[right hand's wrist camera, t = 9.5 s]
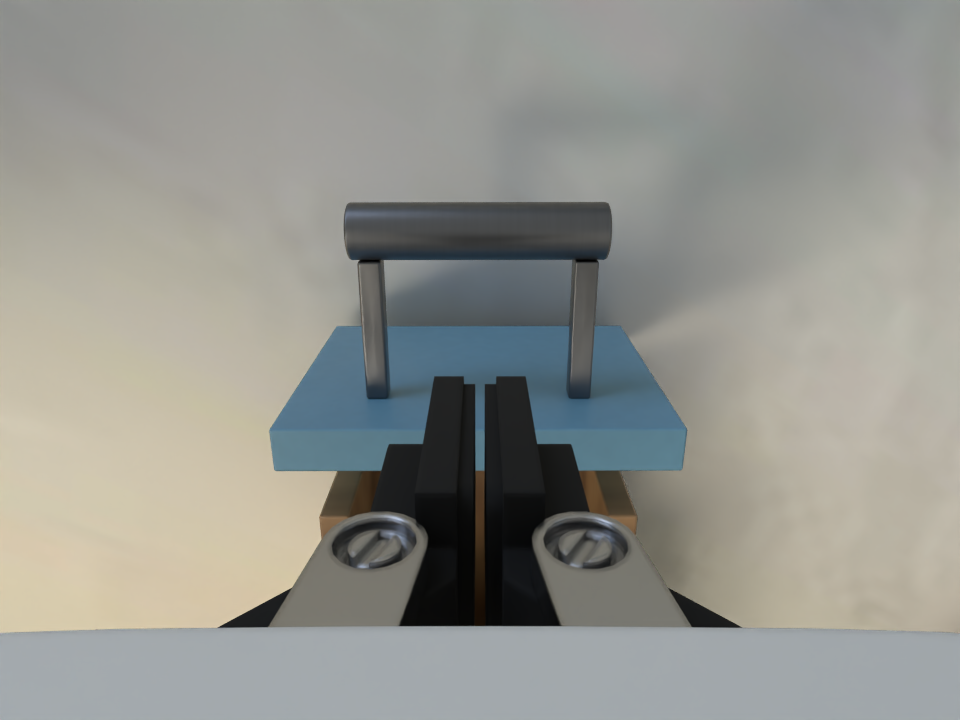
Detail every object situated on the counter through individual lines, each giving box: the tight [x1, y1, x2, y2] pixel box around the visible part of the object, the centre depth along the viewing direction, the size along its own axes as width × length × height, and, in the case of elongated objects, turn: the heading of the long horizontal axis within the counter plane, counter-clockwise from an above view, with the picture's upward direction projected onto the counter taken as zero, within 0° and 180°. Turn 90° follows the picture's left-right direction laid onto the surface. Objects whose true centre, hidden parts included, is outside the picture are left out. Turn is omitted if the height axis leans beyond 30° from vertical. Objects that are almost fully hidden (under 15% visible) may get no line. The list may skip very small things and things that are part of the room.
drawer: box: [269, 202, 687, 626], centre depth 23 cm, size 25×10×8 cm, turn 0°
